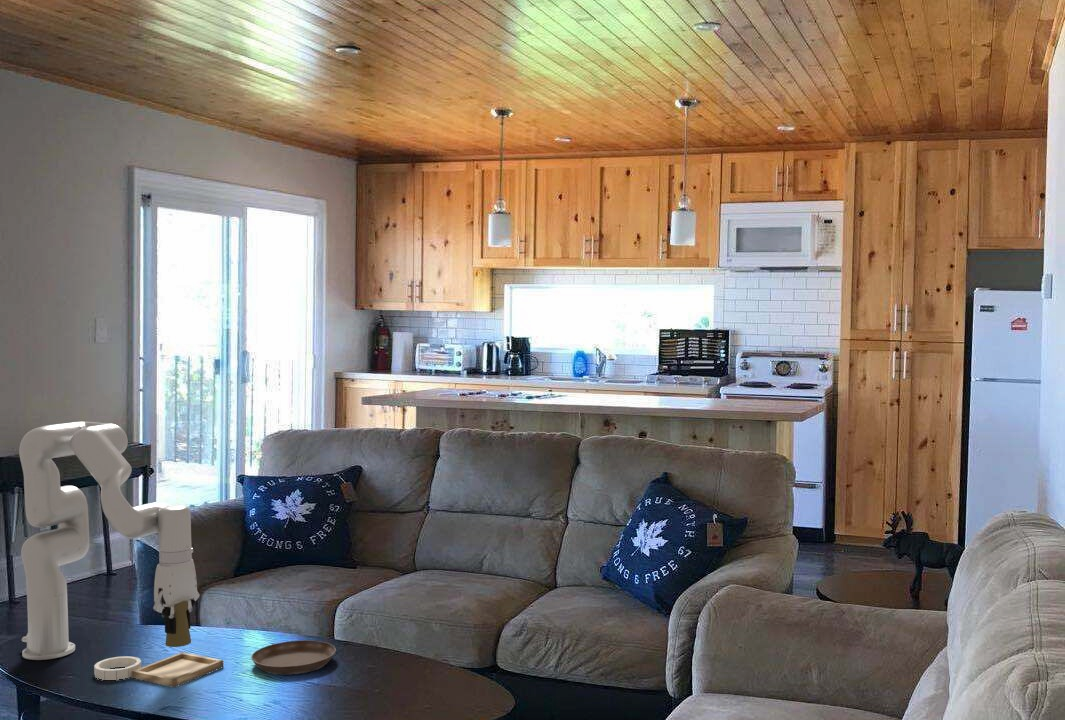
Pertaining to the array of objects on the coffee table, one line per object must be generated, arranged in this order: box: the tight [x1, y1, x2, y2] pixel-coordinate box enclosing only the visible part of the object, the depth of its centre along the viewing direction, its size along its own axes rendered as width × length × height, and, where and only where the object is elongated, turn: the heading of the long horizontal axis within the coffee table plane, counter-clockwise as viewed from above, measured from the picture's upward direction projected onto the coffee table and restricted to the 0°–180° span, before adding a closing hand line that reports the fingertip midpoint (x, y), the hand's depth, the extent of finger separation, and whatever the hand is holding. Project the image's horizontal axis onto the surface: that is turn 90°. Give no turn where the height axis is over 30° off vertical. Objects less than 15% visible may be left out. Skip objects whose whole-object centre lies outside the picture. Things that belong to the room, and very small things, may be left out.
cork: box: [164, 601, 192, 648], centre depth 265 cm, size 6×6×11 cm
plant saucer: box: [251, 639, 337, 676], centre depth 272 cm, size 21×21×3 cm
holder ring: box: [93, 655, 143, 681], centre depth 266 cm, size 10×10×2 cm
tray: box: [131, 651, 224, 688], centre depth 266 cm, size 14×16×2 cm
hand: (177, 629), depth 265 cm, fingers closed on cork, 3 cm apart
